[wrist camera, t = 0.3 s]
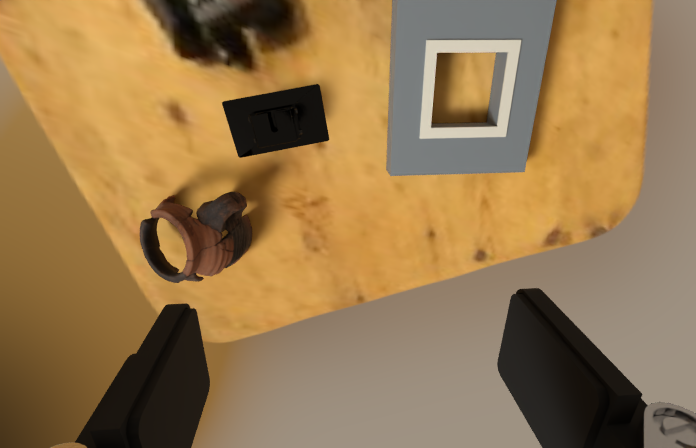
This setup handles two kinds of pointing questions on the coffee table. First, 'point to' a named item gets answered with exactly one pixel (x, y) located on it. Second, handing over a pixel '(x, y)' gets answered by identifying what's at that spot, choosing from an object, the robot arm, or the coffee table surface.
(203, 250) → the pottery mug
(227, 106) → the black stand
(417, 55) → the board
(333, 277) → the coffee table surface
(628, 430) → the robot arm
